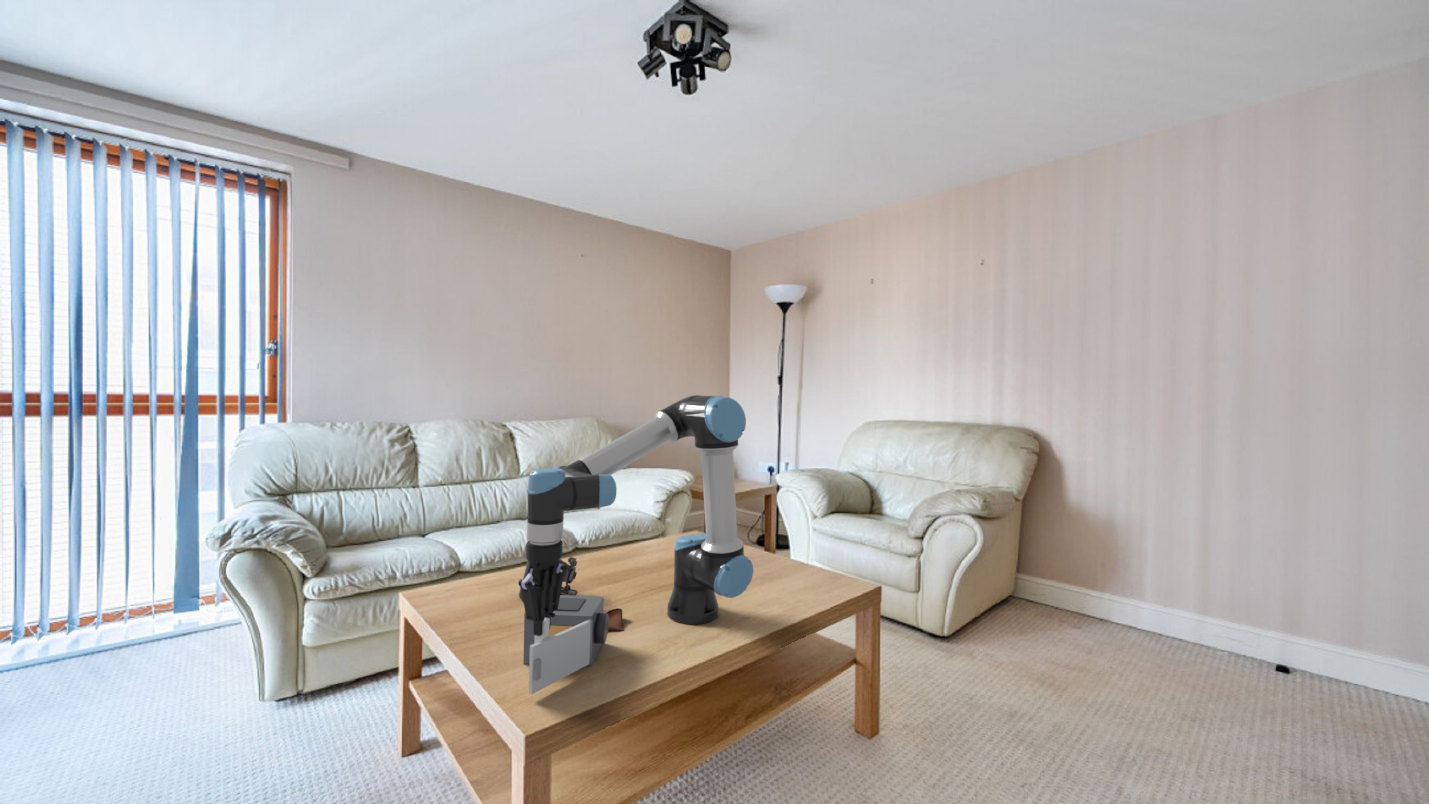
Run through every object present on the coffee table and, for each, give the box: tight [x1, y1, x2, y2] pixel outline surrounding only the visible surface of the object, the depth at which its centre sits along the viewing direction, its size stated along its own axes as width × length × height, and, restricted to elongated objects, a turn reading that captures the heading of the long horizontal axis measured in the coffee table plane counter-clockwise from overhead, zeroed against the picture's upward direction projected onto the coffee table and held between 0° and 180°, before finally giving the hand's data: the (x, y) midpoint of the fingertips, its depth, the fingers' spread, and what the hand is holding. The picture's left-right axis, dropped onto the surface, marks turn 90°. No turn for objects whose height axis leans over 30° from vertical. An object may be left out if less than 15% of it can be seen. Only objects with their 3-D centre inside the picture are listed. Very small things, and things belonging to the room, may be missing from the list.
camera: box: [518, 556, 578, 601], centre depth 168 cm, size 11×17×20 cm, turn 89°
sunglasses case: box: [603, 608, 625, 633], centre depth 146 cm, size 18×7×7 cm
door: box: [528, 619, 593, 695], centre depth 117 cm, size 17×2×10 cm, turn 145°
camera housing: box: [523, 595, 609, 668], centre depth 131 cm, size 18×12×13 cm
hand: (541, 647), depth 115 cm, fingers closed
